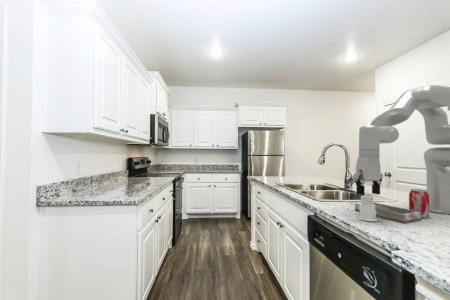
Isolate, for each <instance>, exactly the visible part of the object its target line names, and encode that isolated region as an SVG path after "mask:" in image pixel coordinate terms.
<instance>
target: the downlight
mask: <svg viewBox="0 0 450 300" xmlns="http://www.w3.org/2000/svg"><path fill="white" fill-rule="evenodd" d="M373 202H374V196H370V195H360V202H359V203H360V204H359V207H360V212H358V213H359V217H358V220H361V221H365V222H373V223H374V222H377V221H378V219H377V218H376V217H377V216H376V210H375V205H374V204H373Z"/></svg>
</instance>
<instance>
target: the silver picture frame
mask: <svg viewBox="0 0 450 300" xmlns="http://www.w3.org/2000/svg"><path fill="white" fill-rule="evenodd" d="M360 203H361V202H357V203H354V211H355V212H358V213H359V212H360V207H359V204H360ZM373 204H374V205H375V210H376V217H377V218H381V219H385V220H389V221H392V222H397V223H401V224H409V223H415V222H420V221H422V219H423V218H422V215H421V212H418V211H413V210H409V208H404V207H398V206H393V205H389V204H383V203H378V202H374V201H373Z"/></svg>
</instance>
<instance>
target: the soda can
mask: <svg viewBox="0 0 450 300" xmlns="http://www.w3.org/2000/svg"><path fill="white" fill-rule="evenodd" d="M408 210H413V211H418V212H421V215H422V219H427V218H429V216H430V211H429V194H428V193H427V189H419V188H411V189H410V191H409V193H408Z"/></svg>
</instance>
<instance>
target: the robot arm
mask: <svg viewBox="0 0 450 300" xmlns="http://www.w3.org/2000/svg"><path fill="white" fill-rule="evenodd" d="M444 107H450V86H445V85H438V84H437V85H436V84H435V85H434V84H430V85H429V84H428V85H423V86H420V87H415V88H410V89H408V90H406V91H403V92H402V93H401V95H400V96H399V97H398V98H397V99H396V100H395V102H394V103H393V104H392V105H391V107H390V108H389V109H387V110H385V111H384V112H382V113H381V114H379V115H378V116H376V117H374V118H373V119H371V120H370V121H369V122H368V123H367V124H366V125H363V126H360V127H359V130H358V157H357V160H356V163H355V164H356V165H355V173H354V174H353V175H352V176H353V177H352V178H353V180H354V182H355V186H356V195H359V196H365V191H366V190H365V187H366V186H365V183H366V182H372V184H371V194H375V195H381V186H382V181H383V177H384V174H383V173H381V161H380V145H382V144H391V143H392V144H393V143H395V142H396V141H397V140H398V139H399V136H400V133H399V130H398V129H397V128H396V127H394V126H396V125H400V124H401V123H405V122H406V121H407V120H409V119H410V117H411V116H412V114H413V113H414V112H415V111H417V112H419V114H420V115H422V117H423V120H424V129H425V130H424V131H425V138H426V142H427V143H428V144H430V145H433V146H434V145H435V146H437V145H439V146H440V145H444V146H445V145H447V146H449V145H450V124H449V119H448V114H447V112H446V111H445V110H444V109H443V108H444ZM447 146H445V147H441V146H440V147H438V146H437V147H432V148H428V149H427V150H425V151H424V154H423V159H424V165H425V169H426V170H425V171H426V172H425V173H426V190H427V193H428V194H429V213H430V212H431V213H436V214H442V215H450V170H449V168H450V146H449V147H447Z"/></svg>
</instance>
